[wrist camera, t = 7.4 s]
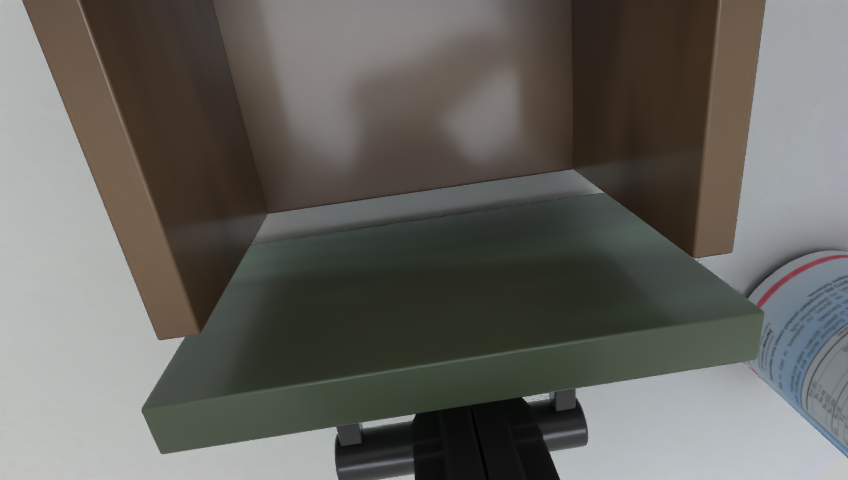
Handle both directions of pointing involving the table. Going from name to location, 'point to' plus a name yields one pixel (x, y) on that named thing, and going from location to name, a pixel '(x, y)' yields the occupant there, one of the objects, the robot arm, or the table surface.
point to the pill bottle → (808, 340)
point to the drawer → (406, 173)
